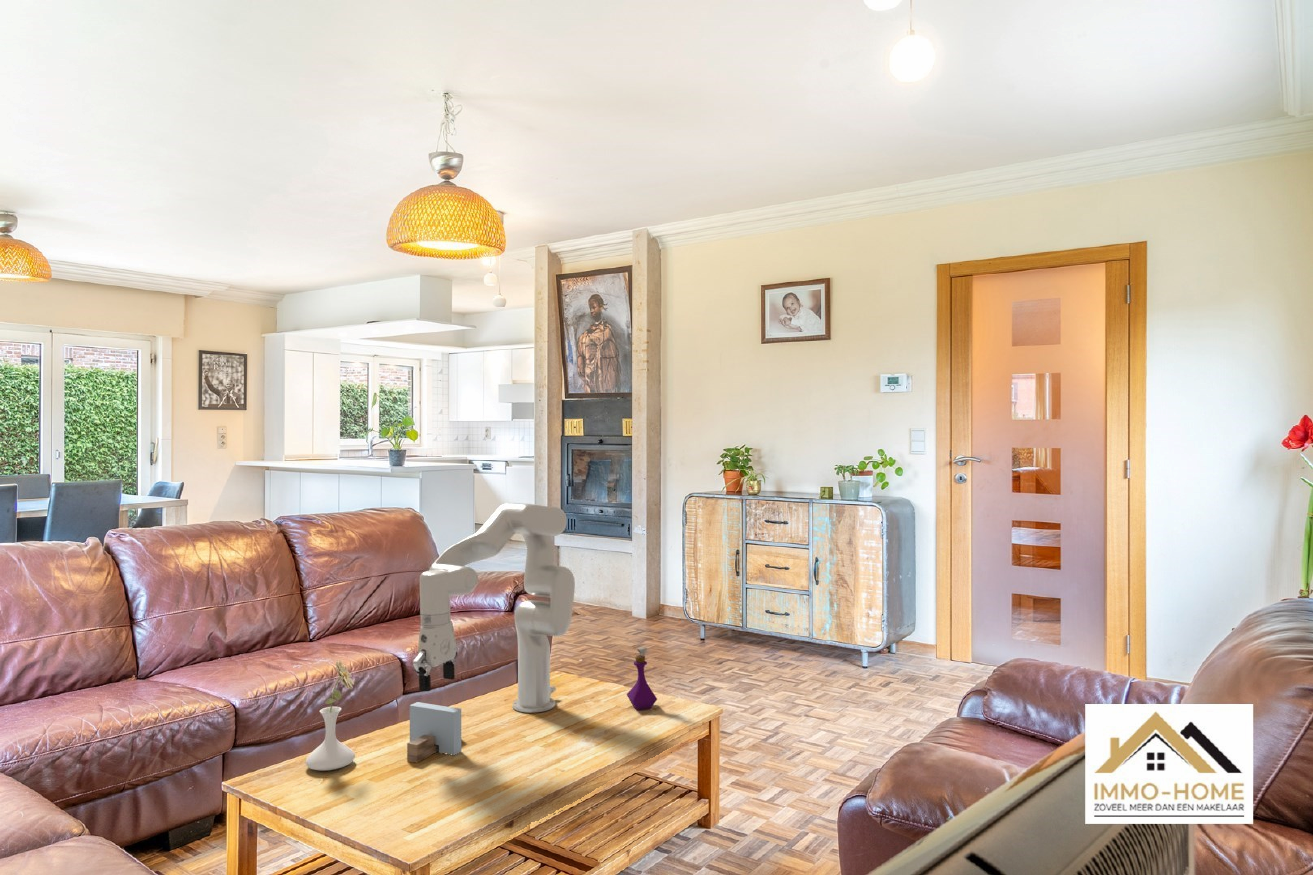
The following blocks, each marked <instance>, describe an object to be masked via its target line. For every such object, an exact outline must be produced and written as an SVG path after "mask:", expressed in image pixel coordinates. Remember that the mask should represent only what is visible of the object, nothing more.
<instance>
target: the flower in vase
mask: <svg viewBox="0 0 1313 875" xmlns="http://www.w3.org/2000/svg"><path fill="white" fill-rule="evenodd" d="M335 669H336V670H335V671H336V674H337V675H338V679H337V681H336V683H335V685H334V687H333V689H332V690H333V691H332V695H331V698H330V697H329V698H327V700H326V701H325V702H324V704H328V705H329V704H330V706H327V707H323V708H322V709H320V710H319V713H320V715H322V717H323V720H324V727H325V736H324V740H323V741H322V743H321V744H320V745H318V746H317V747H316V748H315V749H313V751H312V752H310V754H308V756H306V759H305V762H304V763H305V765H306V767H307V768H308V769H310V770H315V771H333V770H338V769H341V768H344V767H346V766H348V765H350V764H351V763H352V762H354V760H355V757H356V754H355V752H354V750H352V749H351V748H350V747H348V745H346V744H344V743H342V742H340V741H339V740H338V739H337V736H336V725H337V724H336V723H337V718H338V715H339V714H340V712H341V711H342V707H340V706H333V703H334V702H336V701H339V700H340V699H341V698H342V693H341V691H339V690H337V689H336V688H337V686H338V683H339V681H341V683H342V685H343V686H344V687H345V688H346V689H348V690H352V689H354V687H353V685H355V682H354V681H353V679H352V673H351V672H349V670H348V666H347V665H346V664H345V665H343V662H342V661H341V660H339V661H338V660H336V662H335ZM334 698H335V699H334Z"/></svg>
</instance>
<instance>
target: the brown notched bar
mask: <svg viewBox="0 0 1313 875" xmlns="http://www.w3.org/2000/svg"><path fill="white" fill-rule="evenodd" d="M406 744H407V745H406V750H407V751H406V762H409V763H414V762H416V763H415V764H418V763H420V762H421V760H422V761H423V759H424V758H425V759H427V758H429V757H431V756H432V755H431V754H433V753H435V754H436V752H437V751H438V752H439V745H435V744H434V736H431V735H423V736H421V737H419V738H417V739H415V740H413V741H411V742H410V741H409V742H407V743H406ZM438 752H437V753H438ZM430 755H431V756H430ZM433 755H434V754H433ZM428 756H429V757H428ZM425 759H424V760H425ZM417 762H418V763H417Z"/></svg>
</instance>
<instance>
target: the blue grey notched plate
mask: <svg viewBox="0 0 1313 875" xmlns="http://www.w3.org/2000/svg"><path fill="white" fill-rule="evenodd" d="M423 735H431V736H434V744H435V745H439V751H438V754H442V753H447V754H452V755H455V754H456V755H458V754H460V753H462V708H458V707H452V706H444V705H438V704H433V703H432V704H431V703H426V702H420V701H417V702H414V703H412V704H409V742H411V741H413V740H415V739H417V738H419V737H421V736H423ZM459 752H460V753H459ZM457 753H458V754H457ZM447 754H446V755H447ZM452 755H451V756H452ZM456 755H455V756H456Z"/></svg>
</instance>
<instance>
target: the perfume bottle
mask: <svg viewBox="0 0 1313 875" xmlns="http://www.w3.org/2000/svg"><path fill="white" fill-rule="evenodd" d="M636 649H637V652H638V653H639V654H638V655H636V656H635V658H634V659H635V661H634V662H633V665H634V666H635V667H636V669H637V680H636V683H635V684H634V685H633V686H632V688H630V690H629V691H628V692H627V693H626V696H627V698H628V699H629V702H630V704H632V706H633V708H635V710H636V711H643V710H650V709H651V708H652V707H653V705H654V704H655V703H656V702H657V700H658V697H657V696H656V695H655V693H654V692H653V690H652V689H651V687H650V686H649V684H648V681H647V680H646V676H645V666H647V664H648V662H647V661H646V660H645V659H646V653H647V650H648V648H647V647H638V648H636Z"/></svg>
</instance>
